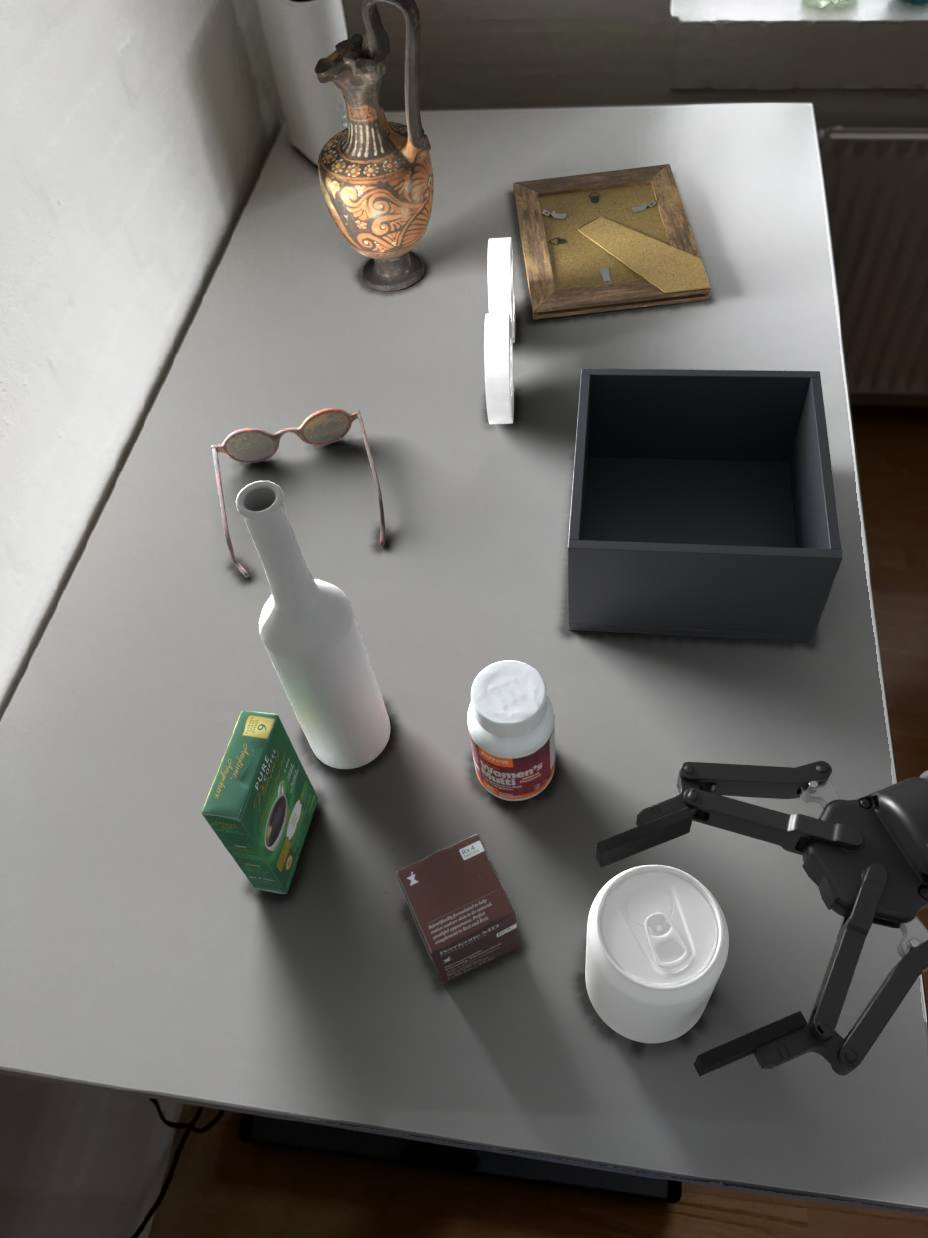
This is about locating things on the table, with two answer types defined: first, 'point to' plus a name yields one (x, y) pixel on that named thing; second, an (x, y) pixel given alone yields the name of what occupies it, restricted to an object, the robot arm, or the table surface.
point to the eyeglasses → (263, 445)
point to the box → (460, 908)
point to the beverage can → (654, 952)
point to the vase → (378, 154)
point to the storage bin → (702, 504)
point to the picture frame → (607, 242)
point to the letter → (500, 332)
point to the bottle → (314, 642)
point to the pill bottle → (512, 730)
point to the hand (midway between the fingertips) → (644, 954)
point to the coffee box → (261, 801)
